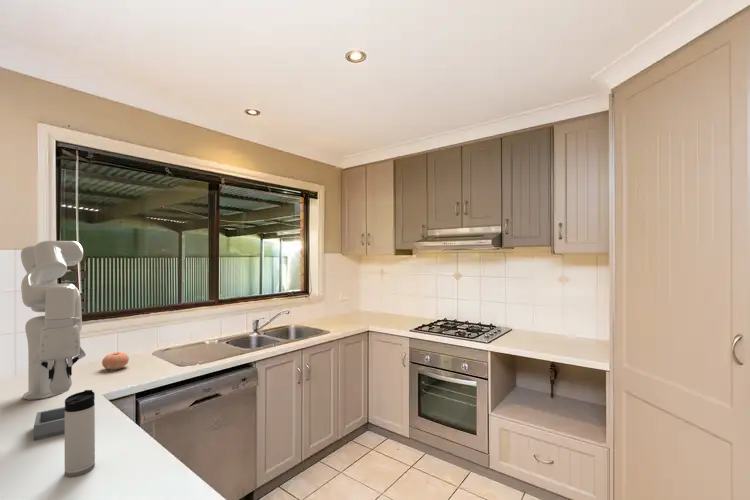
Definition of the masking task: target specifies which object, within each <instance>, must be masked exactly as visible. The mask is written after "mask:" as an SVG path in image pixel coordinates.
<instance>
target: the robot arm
mask: <svg viewBox="0 0 750 500" xmlns="http://www.w3.org/2000/svg"><path fill="white" fill-rule="evenodd" d="M83 257H84V249H83V246H82V245H81V244H80V243H79V242H78V241H75V240H43V241H40V242H38V243H36V244H35V245H30V246H25V247H23V248H22V250H21V251H20V260H21V264H22V266H23V268H24V270H25V272H26V275H24V277H22V280H21V286H20V290H21V291H20V292H21V299H22V303H23V304H24V305H25V306H26V307H27V308H31V311H33V312H35V313H44V315H38V316H35V317H31V318H30V319H28V320H27V321H26V323H25V326H24V329H25V334H26V335H25V336H26V340H27V349H28V350H27V351H28V353H27V354H28V356H27V357H28V360H27V361H28V362H27V363H28V366H27V367H28V370H27V371H28V372H27V373H28V375H27V376H28V377H27V378H28V379H27V380H28V383H27V384H28V390H27V391H26V392H25V393H24V394H23V395H22V399H24V400H26V399H27V400H29V401H31V400H32V401H33V400H42V399H46V398H51V397H54V396H57V395H59V394H52V392H51V391H50V389H49V384H50V379H51V382H52V380H53V375H54V367H53V364H54V359H57V357H59V356H63V357H64V358H67V359H66V360H67V364H68V365H67V368H66V371H67V376H68V378H69V375H70V376H72V374H73V370H72V369H73V368H72V367H73V365H74V364H75V363H77V362H78V361H79V360H81V359H82V358H85V357H86V352H85V350H83V348H82V347H81V337H80V336H81V335H80V333H81V332H82V328H83V319H82V318H83V316H82V314H83V313H82V296H81V293H80V291H79V289H78V287H77V286H75V285H74V284H73V283H69V282H68V283H58V279H59V278H63V276H64V275H65V274H66V273H67V271H68V267H73V266H76V265H77V264H79V263H80V262H81V261H82V260H83Z"/></svg>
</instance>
